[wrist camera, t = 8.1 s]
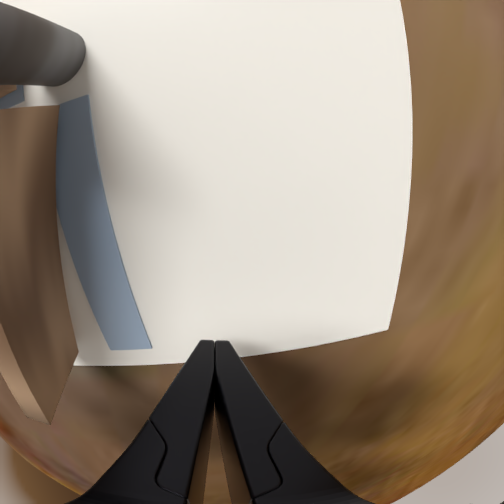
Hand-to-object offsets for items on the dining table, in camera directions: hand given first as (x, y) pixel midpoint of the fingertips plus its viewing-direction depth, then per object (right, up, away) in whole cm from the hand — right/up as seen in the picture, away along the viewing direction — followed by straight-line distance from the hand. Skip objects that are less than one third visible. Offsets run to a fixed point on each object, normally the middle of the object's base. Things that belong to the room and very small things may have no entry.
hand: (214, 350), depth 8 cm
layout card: (-3, +6, -1) cm, 7 cm away
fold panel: (-5, +3, 0) cm, 6 cm away
